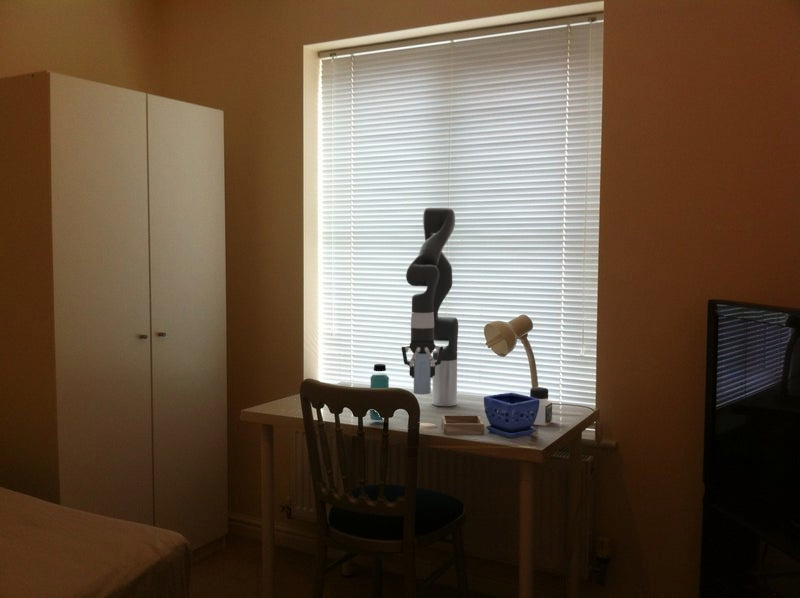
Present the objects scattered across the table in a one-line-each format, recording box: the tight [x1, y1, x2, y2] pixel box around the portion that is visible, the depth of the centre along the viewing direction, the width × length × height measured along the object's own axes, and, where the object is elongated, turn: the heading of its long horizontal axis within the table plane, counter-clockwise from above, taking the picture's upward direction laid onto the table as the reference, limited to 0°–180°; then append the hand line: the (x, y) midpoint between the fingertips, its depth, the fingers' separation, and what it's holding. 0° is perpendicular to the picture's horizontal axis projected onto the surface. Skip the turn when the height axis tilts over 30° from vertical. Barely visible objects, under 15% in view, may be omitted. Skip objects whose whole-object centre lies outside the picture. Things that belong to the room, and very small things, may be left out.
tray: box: [441, 414, 485, 435], centre depth 235 cm, size 13×13×4 cm
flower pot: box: [483, 392, 540, 439], centre depth 230 cm, size 13×13×12 cm
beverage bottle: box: [369, 363, 390, 422], centre depth 244 cm, size 6×7×20 cm
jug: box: [413, 354, 432, 395], centre depth 236 cm, size 6×8×13 cm
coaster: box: [406, 422, 438, 431], centre depth 238 cm, size 10×10×1 cm
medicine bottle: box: [529, 386, 553, 427], centre depth 246 cm, size 7×7×12 cm
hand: (422, 377), depth 237 cm, fingers closed on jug, 5 cm apart
